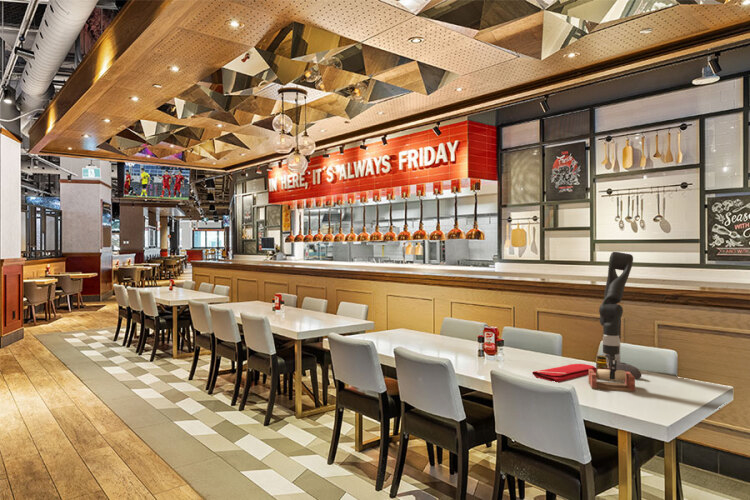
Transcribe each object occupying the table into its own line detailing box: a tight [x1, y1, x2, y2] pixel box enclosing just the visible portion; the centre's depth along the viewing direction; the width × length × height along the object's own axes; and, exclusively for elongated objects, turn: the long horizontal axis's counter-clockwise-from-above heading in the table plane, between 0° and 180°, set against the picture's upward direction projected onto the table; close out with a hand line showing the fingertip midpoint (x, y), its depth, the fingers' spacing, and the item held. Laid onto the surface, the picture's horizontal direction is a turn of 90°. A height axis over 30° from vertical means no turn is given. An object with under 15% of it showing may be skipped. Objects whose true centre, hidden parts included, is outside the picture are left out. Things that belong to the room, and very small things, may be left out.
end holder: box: [587, 369, 636, 393], centre depth 238 cm, size 12×19×7 cm, turn 74°
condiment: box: [595, 354, 610, 382], centre depth 255 cm, size 7×8×12 cm
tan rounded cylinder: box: [597, 369, 626, 382], centre depth 238 cm, size 12×5×5 cm, turn 74°
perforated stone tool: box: [616, 361, 642, 380], centre depth 258 cm, size 15×5×7 cm, turn 22°
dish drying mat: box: [531, 363, 596, 383], centre depth 264 cm, size 16×41×4 cm, turn 124°
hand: (611, 377), depth 238 cm, fingers closed on tan rounded cylinder, 5 cm apart
